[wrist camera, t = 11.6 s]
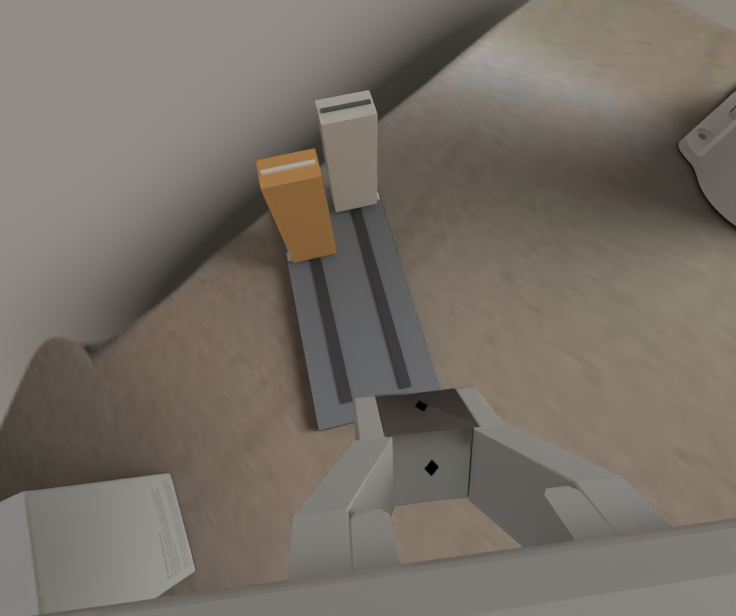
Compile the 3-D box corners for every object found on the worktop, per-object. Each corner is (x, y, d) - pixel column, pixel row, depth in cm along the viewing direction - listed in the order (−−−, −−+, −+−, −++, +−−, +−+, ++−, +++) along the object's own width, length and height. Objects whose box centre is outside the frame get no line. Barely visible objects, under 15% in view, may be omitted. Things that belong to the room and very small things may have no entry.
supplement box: (172, 469, 28) (27, 485, 17) (198, 572, 26) (50, 676, 14) (76, 515, 27) (-151, 567, 16) (94, 627, 25) (-159, 788, 13)
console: (279, 208, 37) (275, 199, 36) (374, 188, 38) (374, 178, 36) (320, 431, 29) (318, 430, 28) (440, 400, 30) (443, 398, 28)
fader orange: (289, 240, 33) (255, 158, 24) (331, 231, 34) (314, 146, 24) (293, 262, 33) (259, 187, 23) (337, 253, 33) (321, 174, 23)
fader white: (330, 192, 35) (314, 98, 26) (370, 183, 36) (369, 87, 26) (335, 212, 34) (320, 123, 25) (376, 203, 35) (377, 111, 25)
